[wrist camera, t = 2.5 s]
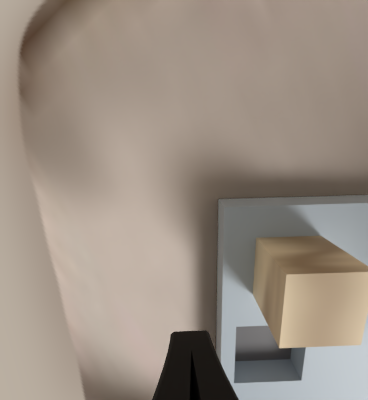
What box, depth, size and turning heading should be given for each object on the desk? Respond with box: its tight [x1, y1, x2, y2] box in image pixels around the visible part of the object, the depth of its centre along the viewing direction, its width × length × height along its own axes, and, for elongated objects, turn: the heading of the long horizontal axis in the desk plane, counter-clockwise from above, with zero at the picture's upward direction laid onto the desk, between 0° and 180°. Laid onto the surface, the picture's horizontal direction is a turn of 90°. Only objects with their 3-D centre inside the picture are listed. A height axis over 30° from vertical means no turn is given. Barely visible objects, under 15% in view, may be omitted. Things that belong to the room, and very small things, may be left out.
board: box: [216, 195, 368, 400], centre depth 16 cm, size 18×16×4 cm
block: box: [253, 236, 368, 348], centre depth 12 cm, size 4×4×4 cm
